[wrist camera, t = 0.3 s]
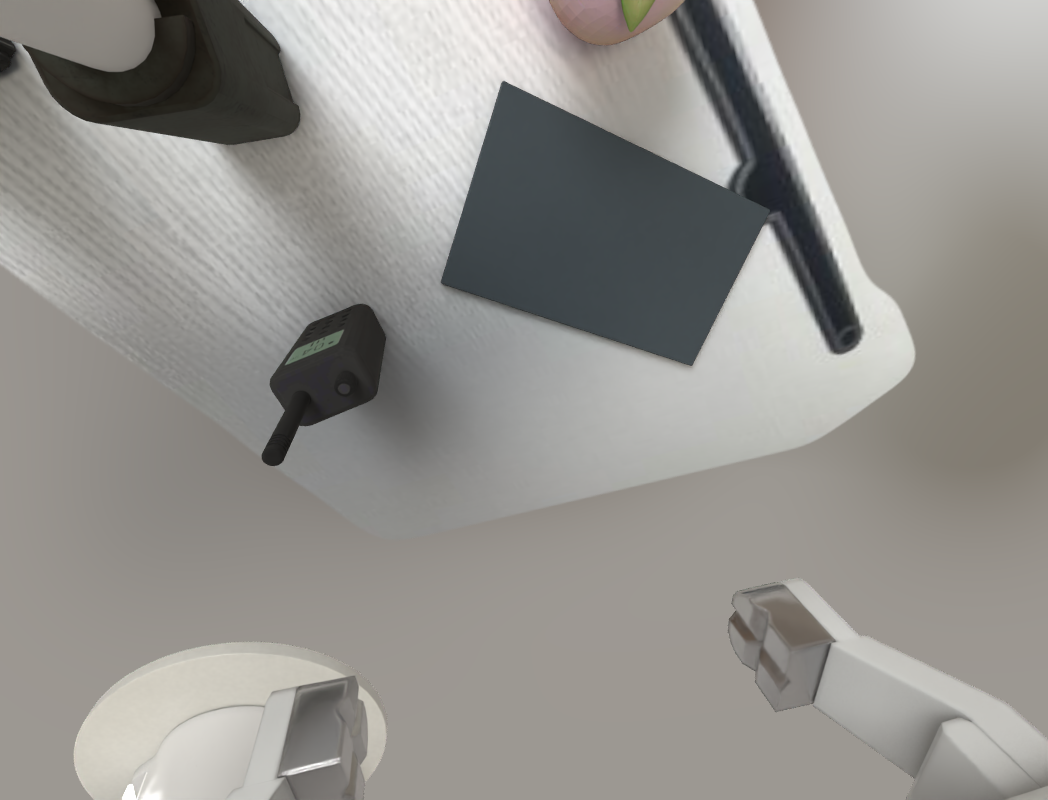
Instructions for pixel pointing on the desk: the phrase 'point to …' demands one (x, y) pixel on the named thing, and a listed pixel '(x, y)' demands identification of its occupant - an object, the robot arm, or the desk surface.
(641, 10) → the decorative fruit
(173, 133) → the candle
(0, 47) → the portable radio
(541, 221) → the mat
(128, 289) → the desk surface
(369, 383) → the walkie-talkie
